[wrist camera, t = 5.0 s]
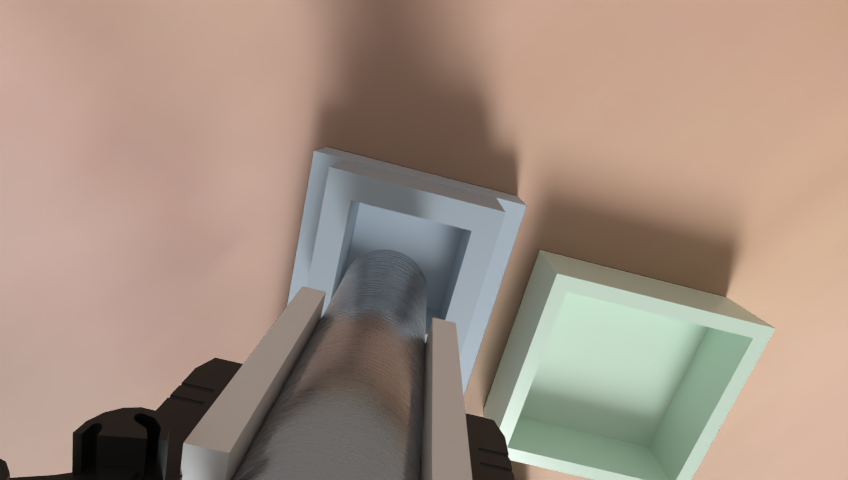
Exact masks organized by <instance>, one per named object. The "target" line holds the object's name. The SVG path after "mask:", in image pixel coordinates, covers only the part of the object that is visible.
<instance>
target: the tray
mask: <svg viewBox="0 0 848 480" xmlns="http://www.w3.org/2000/svg"><path fill="white" fill-rule="evenodd" d="M774 330H775V328H774V327H772V326H771V325H769V324H768V323H766V322H765V321H763V320H761V319H760V318H758V317H757V316H755V315H754V314H752V313H750V312H749V311H747V310H746V309H744V308H743V307H741V306H740V305H738V304H736V303H735V302H733V301H732V300H730V299H729V298H727V297H724V296H720V295H716V294H712V293H708V292H704V291H700V290H696V289H692V288H688V287H684V286H680V285H676V284H672V283H668V282H665V281H661V280H657V279H653V278H649V277H645V276H641V275H637V274H633V273H629V272H625V271H621V270H617V269H613V268H609V267H605V266H602V265H598V264H594V263H590V262H586V261H582V260H578V259H574V258H570V257H566V256H562V255H558V254H554V253H550V252H546V251H542V250H539V253H538V256H537V259H536V262H535V265H534V267H533V270H532V273H531V276H530V279H529V282H528V284H527V287H526V290H525V293H524V296H523V299H522V301H521V304H520V307H519V310H518V313H517V316H516V319H515V321H514V324H513V327H512V330H511V333H510V336H509V338H508V341H507V344H506V347H505V350H504V353H503V355H502V358H501V361H500V364H499V367H498V370H497V373H496V375H495V378H494V381H493V384H492V387H491V390H490V392H489V395H488V398H487V401H486V404H485V407H484V409H483V414H484V418H487V419H492V420H494V421H495V423H496V424H497V426H498V427H499V429H500V430H501V432H502V433H503V435H504V436H505V440H506V444H507V449H508V453H509V455H508V458H510V460H512V461H516V462H520V463H525V464H529V465H533V466H537V467H542V468H546V469H550V470H555V471H559V472H563V473H567V474H572V475H576V476H580V477H585V478H589V479H593V480H691V479H692V477H693V475H694V474H695V472H696V470H697V468H698V466H699V465H700V463H701V461H702V459H703V457H704V456H705V454H706V452H707V450H708V448H709V447H710V445H711V443H712V441H713V439H714V438H715V436H716V434H717V432H718V431H719V429H720V427H721V425H722V423H723V422H724V420H725V418H726V416H727V414H728V413H729V411H730V409H731V407H732V405H733V404H734V402H735V400H736V398H737V396H738V395H739V393H740V391H741V389H742V388H743V386H744V384H745V382H746V380H747V379H748V377H749V375H750V373H751V371H752V370H753V368H754V366H755V364H756V362H757V361H758V359H759V357H760V355H761V353H762V352H763V350H764V348H765V346H766V345H767V343H768V341H769V339H770V337H771V336H772V334H773V332H774Z"/></svg>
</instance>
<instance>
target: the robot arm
mask: <svg viewBox="0 0 848 480" xmlns="http://www.w3.org/2000/svg"><path fill="white" fill-rule="evenodd" d="M325 295H326V292H325V291H321V290H316V289H312V288H308V287H304V286H302V287H301V289H300V290H299V291H298V292H297V294H296V295H295V296H294V298H293V299H292V300H291V302H290V303H289V304H288V306H287V307H286V308H285V310H284V311H283V312H282V314H281V315H280V316H279V317H278V319H277V320H276V321H275V323H274V324H273V325H272V327H271V328H270V329H269V331H268V332H267V333H266V335H265V336H264V337H263V339H262V340H261V341H260V343H259V344H258V345H257V346H256V348H255V349H254V350H253V352H252V353H251V354H250V356H249V357H248V358H247V360H246V361H245V362H244V364H240V363H236V362H231V361H227V360H223V359H218V358H214V359H212V360H210V361H208V362H207V363H205V364H203V365H201V366H199V367H197V368H195V369H194V370H193V371H192V373H191V374H190V375H189V376H188V377H187V378H186V379H185V380H184V381H183V382H182V385H181V386H178V388H177V389H176V390H175V391H174V392H173V393H172V394H171V396H170V398H167V399H166V400H165V401H164V403H163V404H162V405H161V406H160V407H159V408H158V409H157V410H156V411H154V410H150V409H146V408H141V407H138V408H121V409H117V410H113V411H109V412H105V413H102V414H100V415H98V416H96V417H94V418H92V419H90V420H88V421H86V422H85V423H84V424H83V425H82V426H80V427H79V428H78V429H77V430H76V431H75V432H73V467H72V473H66V474H59V475H49V476H33V477H18V478H10V473H9V470H8V467H7V464H6V462H5V461H3V460H2V459H0V480H232V479H233V478H234V476H235V474H236V472H237V470H238V468H239V467H240V465H241V463H242V461H243V459H244V458H245V456H246V454H247V452H248V450H249V448H250V447H251V445H252V443H253V441H254V439H255V437H256V436H257V434H258V432H259V430H260V428H261V427H262V425H263V423H264V421H265V419H266V417H267V416H268V414H269V412H270V410H271V408H272V407H273V405H274V403H275V401H276V399H277V397H278V396H279V394H280V392H281V390H282V388H283V387H284V385H285V383H286V381H287V379H288V377H289V376H290V374H291V372H292V370H293V368H294V367H295V365H296V363H297V361H298V359H299V357H300V356H301V354H302V352H303V350H304V348H305V347H306V345H307V343H308V341H309V339H310V337H311V336H312V334H313V332H314V330H315V328H316V326H317V325H318V323H319V321H320V319H321V315H322V310H323V305H324V300H325ZM508 455H509V453H508V449H507V444H506V440H505V436H504V435H503V433H502V432H501V430H500V429H499V427H498V426H497V424H496V423H495V421H494V420H492V419H487V418H483V417H479V416H474V415H470V414H466V413H465V405H464V396H463V386H462V377H461V367H460V358H459V348H458V339H457V329H456V323H454V322H450V321H446V320H442V319H438V318H432V322H431V325H430V329H429V332H428V336H427V339H426V343H425V362H424V389H423V416H422V443H421V471H420V480H514V476H513V473H512V467H511V462H510V458H508Z"/></svg>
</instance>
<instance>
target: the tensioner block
mask: <svg viewBox="0 0 848 480" xmlns="http://www.w3.org/2000/svg"><path fill="white" fill-rule="evenodd" d="M526 206H527V205H526V204H525V203H524V202H523V201H522V200H521V199H520V198H519V197H518V196H515V195H511V194H507V193H503V192H500V191H496V190H492V189H488V188H484V187H480V186H476V185H472V184H469V183H465V182H461V181H457V180H453V179H449V178H445V177H442V176H438V175H434V174H430V173H426V172H422V171H418V170H414V169H411V168H407V167H403V166H399V165H395V164H391V163H387V162H384V161H380V160H376V159H372V158H368V157H364V156H360V155H356V154H353V153H349V152H345V151H341V150H337V149H333V148H329V147H324V148H321V149H318V150H314V153H313V159H312V165H311V171H310V176H309V182H308V188H307V194H306V199H305V205H304V211H303V217H302V223H301V228H300V234H299V240H298V246H297V252H296V257H295V263H294V269H293V275H292V281H291V286H290V292H289V298H288V304H289V303H290V302H291V300H292V299H293V298H294V296H295V295H296V294H297V292H298V291H299V290H300V289H301V287H302V286H304V287H308V288H312V289H316V290H321V291H325V292H326V295H325V300H324V305H323V310H322V315H321V317H322V316H323V314H324V312H325V310H326V308H327V306H328V305H329V303H330V301H331V299H332V297H333V296H334V294H335V292H336V290H337V288H338V286H339V285H340V283H341V281H342V279H343V277H344V276H345V274H346V272H347V270H348V268H349V267H350V265H351V264H352V263H353V262H354V261H355V260H356V259H357V258H358V257H360V256H361V255H363V254H365V253H367V252H370V251H374V250H381V249H387V250H394V251H397V252H400V253H403V254H405V255H407V256H408V257H410V258H411V259H412V260H414V261H415V262H416V263H417V264H418V266H419V267H420V268H421V270H422V272H423V274H424V276H425V279H426V283H427V307H426V334H425V343H426V339H427V336H428V332H429V329H430V325H431V322H432V318H438V319H442V320H446V321H450V322H454V323H456V329H457V339H458V348H459V358H460V367H461V377H462V386H463V396H464V393H465V390H466V387H467V384H468V381H469V378H470V375H471V372H472V369H473V366H474V363H475V360H476V357H477V354H478V351H479V348H480V345H481V341H482V338H483V335H484V332H485V329H486V326H487V323H488V320H489V317H490V314H491V311H492V308H493V305H494V302H495V299H496V296H497V293H498V290H499V287H500V284H501V281H502V278H503V275H504V272H505V269H506V266H507V263H508V260H509V257H510V254H511V251H512V248H513V245H514V242H515V239H516V236H517V233H518V230H519V227H520V224H521V221H522V218H523V215H524V212H525V209H526ZM288 304H287V306H288Z"/></svg>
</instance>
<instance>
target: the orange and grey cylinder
mask: <svg viewBox="0 0 848 480" xmlns="http://www.w3.org/2000/svg"><path fill="white" fill-rule="evenodd" d="M426 307H427V283H426V279H425V276H424V274H423V272H422V270H421V268H420V267H419V266H418V264H417V263H416V262H415V261H414V260H412V259H411V258H410V257H408V256H407V255H405V254H403V253H400V252H397V251H394V250H387V249H381V250H374V251H370V252H367V253H365V254H363V255H361V256H360V257H358V258H357V259H356V260H355V261H354V262H353V263H352V264H351V265H350V267H349V268H348V270H347V272H346V274H345V276H344V277H343V279H342V281H341V283H340V285H339V286H338V288H337V290H336V292H335V294H334V296H333V297H332V299H331V301H330V303H329V305H328V306H327V308H326V310H325V312H324V314H323V316H322V317H321V319H320V321H319V323H318V325H317V326H316V328H315V330H314V332H313V334H312V336H311V337H310V339H309V341H308V343H307V345H306V347H305V348H304V350H303V352H302V354H301V356H300V357H299V359H298V361H297V363H296V365H295V367H294V368H293V370H292V372H291V374H290V376H289V377H288V379H287V381H286V383H285V385H284V387H283V388H282V390H281V392H280V394H279V396H278V397H277V399H276V401H275V403H274V405H273V407H272V408H271V410H270V412H269V414H268V416H267V417H266V419H265V421H264V423H263V425H262V427H261V428H260V430H259V432H258V434H257V436H256V437H255V439H254V441H253V443H252V445H251V447H250V448H249V450H248V452H247V454H246V456H245V458H244V459H243V461H242V463H241V465H240V467H239V468H238V470H237V472H236V474H235V476H234V478H233V479H232V480H420V471H421V443H422V416H423V389H424V362H425V334H426Z"/></svg>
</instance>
